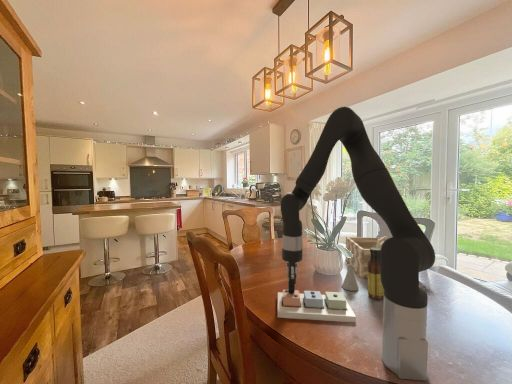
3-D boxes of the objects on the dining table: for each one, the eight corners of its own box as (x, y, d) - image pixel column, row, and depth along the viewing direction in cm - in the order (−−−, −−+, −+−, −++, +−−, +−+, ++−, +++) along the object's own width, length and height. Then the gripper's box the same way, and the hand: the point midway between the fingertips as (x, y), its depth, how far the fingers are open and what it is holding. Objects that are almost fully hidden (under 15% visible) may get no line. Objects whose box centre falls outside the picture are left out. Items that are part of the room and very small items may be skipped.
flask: (360, 292, 96) (361, 269, 96) (342, 290, 98) (343, 268, 97) (356, 285, 103) (357, 263, 103) (340, 283, 105) (340, 262, 104)
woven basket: (418, 280, 109) (419, 251, 108) (361, 277, 111) (361, 249, 111) (391, 261, 135) (391, 238, 134) (345, 259, 138) (346, 236, 137)
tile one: (346, 309, 79) (346, 299, 79) (328, 308, 80) (328, 298, 80) (341, 300, 85) (341, 291, 85) (325, 299, 86) (325, 290, 86)
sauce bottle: (384, 295, 94) (386, 248, 93) (384, 302, 88) (386, 252, 88) (367, 291, 97) (368, 245, 96) (366, 297, 92) (367, 249, 91)
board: (355, 322, 75) (355, 316, 75) (277, 317, 78) (277, 311, 78) (343, 300, 89) (343, 295, 89) (277, 297, 92) (277, 292, 92)
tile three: (300, 306, 81) (300, 297, 81) (283, 305, 82) (283, 296, 82) (298, 297, 87) (298, 289, 87) (282, 297, 88) (283, 288, 88)
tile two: (322, 307, 80) (323, 298, 80) (305, 306, 81) (305, 297, 81) (319, 299, 86) (319, 290, 86) (303, 298, 87) (303, 289, 87)
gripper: (304, 253, 77) (303, 302, 78) (300, 242, 90) (300, 285, 91) (282, 252, 78) (281, 301, 79) (281, 241, 91) (281, 283, 92)
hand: (291, 292), depth 85 cm, fingers closed
